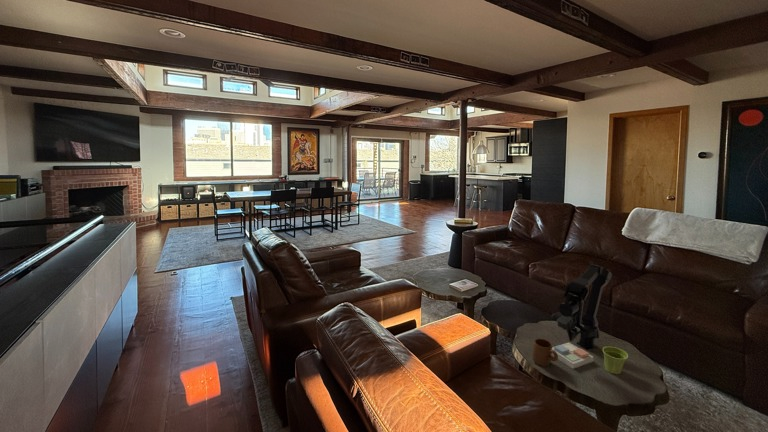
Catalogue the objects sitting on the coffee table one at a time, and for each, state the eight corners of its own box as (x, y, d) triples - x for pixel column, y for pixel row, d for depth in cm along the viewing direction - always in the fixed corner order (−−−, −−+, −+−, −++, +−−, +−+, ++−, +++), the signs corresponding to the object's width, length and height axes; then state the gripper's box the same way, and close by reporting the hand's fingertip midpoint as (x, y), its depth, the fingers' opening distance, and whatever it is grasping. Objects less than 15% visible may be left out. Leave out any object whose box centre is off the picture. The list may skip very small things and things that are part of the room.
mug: (562, 370, 160) (564, 350, 158) (549, 374, 157) (551, 354, 155) (541, 355, 171) (543, 337, 169) (528, 358, 168) (530, 340, 166)
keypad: (568, 347, 177) (569, 342, 177) (592, 362, 166) (593, 356, 165) (548, 353, 172) (549, 348, 172) (572, 369, 161) (573, 363, 160)
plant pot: (617, 379, 154) (619, 361, 152) (595, 367, 162) (598, 349, 160) (629, 373, 158) (632, 355, 156) (608, 361, 166) (610, 344, 164)
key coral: (579, 351, 170) (580, 348, 170) (588, 357, 166) (588, 353, 166) (573, 354, 168) (573, 350, 168) (581, 359, 164) (582, 355, 164)
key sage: (570, 357, 168) (571, 353, 168) (579, 362, 164) (579, 358, 164) (564, 359, 166) (564, 355, 166) (572, 364, 162) (572, 360, 162)
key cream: (569, 348, 175) (569, 344, 175) (577, 352, 171) (577, 349, 171) (562, 350, 174) (562, 346, 173) (570, 355, 170) (570, 351, 169)
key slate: (560, 348, 173) (561, 344, 172) (568, 353, 169) (569, 349, 168) (554, 350, 171) (554, 346, 171) (561, 355, 167) (562, 351, 167)
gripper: (544, 304, 166) (541, 335, 169) (581, 322, 150) (577, 356, 153) (562, 299, 171) (558, 329, 174) (599, 317, 154) (595, 350, 157)
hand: (571, 341), depth 164 cm, fingers closed
